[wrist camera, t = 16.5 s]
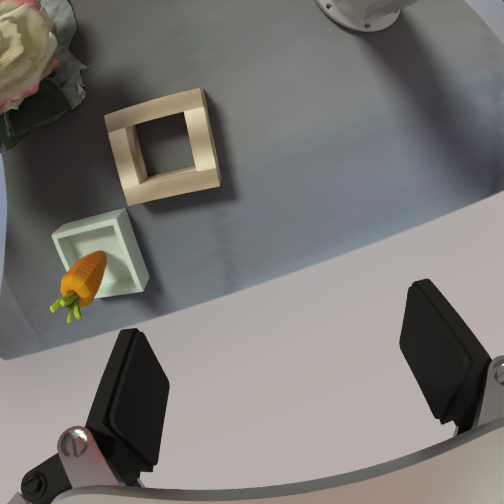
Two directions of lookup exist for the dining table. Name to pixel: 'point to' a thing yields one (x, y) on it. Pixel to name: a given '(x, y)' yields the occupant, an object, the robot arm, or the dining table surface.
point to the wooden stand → (130, 153)
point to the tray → (105, 250)
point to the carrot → (81, 283)
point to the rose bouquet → (36, 66)
